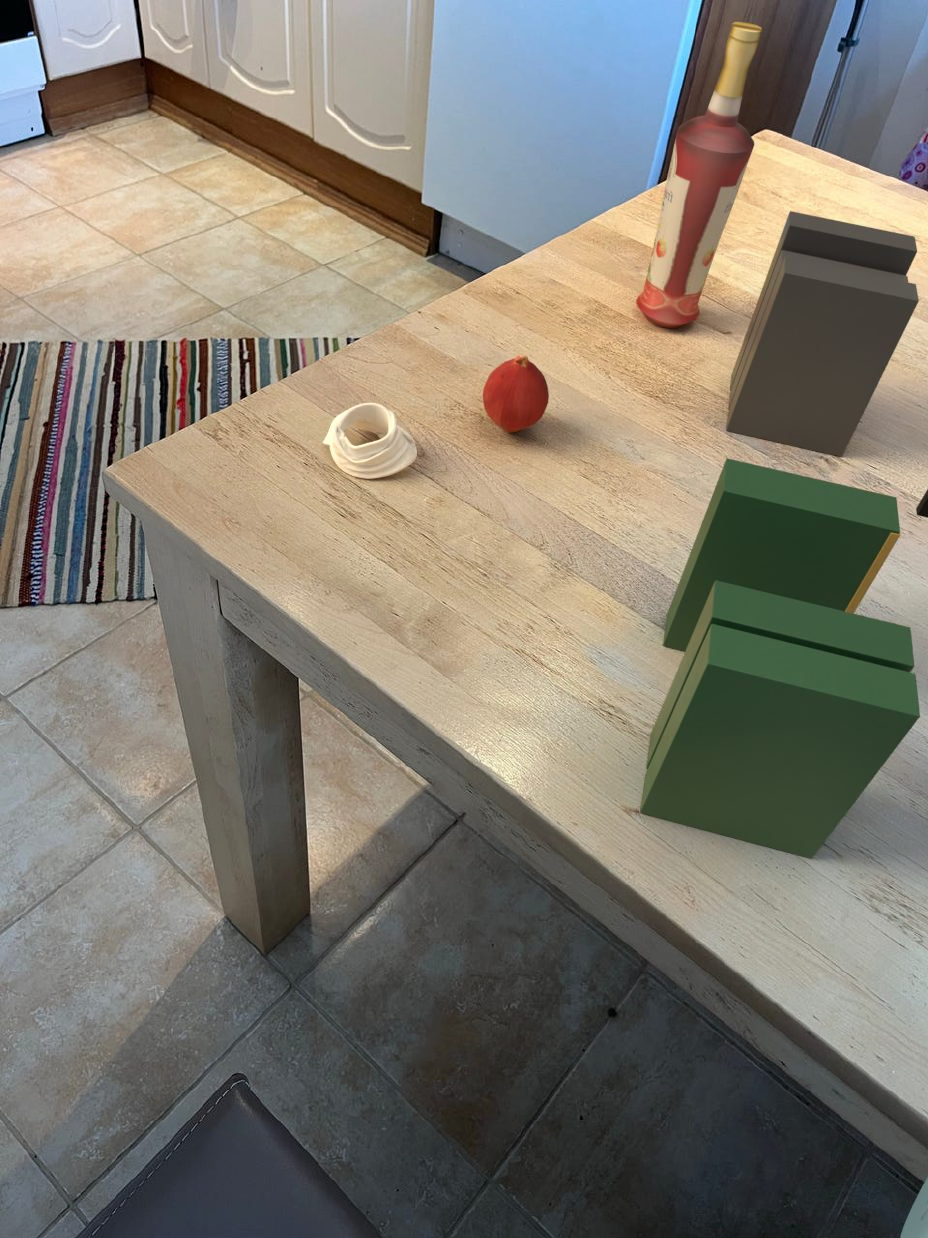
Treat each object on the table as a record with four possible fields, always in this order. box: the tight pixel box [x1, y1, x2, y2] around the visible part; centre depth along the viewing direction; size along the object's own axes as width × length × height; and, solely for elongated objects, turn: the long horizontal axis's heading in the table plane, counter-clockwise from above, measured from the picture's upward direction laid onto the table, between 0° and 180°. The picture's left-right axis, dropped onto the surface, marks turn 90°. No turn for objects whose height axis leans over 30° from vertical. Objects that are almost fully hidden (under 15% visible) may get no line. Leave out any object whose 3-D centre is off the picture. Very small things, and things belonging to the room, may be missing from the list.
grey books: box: [725, 210, 920, 458], centre depth 86 cm, size 10×11×17 cm
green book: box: [662, 458, 901, 652], centre depth 65 cm, size 4×11×15 cm, turn 76°
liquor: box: [636, 21, 763, 329], centre depth 93 cm, size 7×7×28 cm
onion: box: [482, 353, 550, 434], centre depth 84 cm, size 6×6×8 cm
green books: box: [639, 580, 921, 859], centre depth 57 cm, size 6×11×15 cm, turn 76°
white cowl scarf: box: [322, 402, 418, 480], centre depth 80 cm, size 8×7×5 cm
